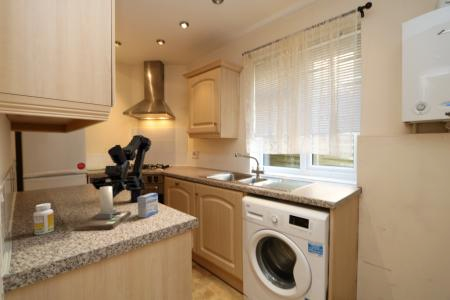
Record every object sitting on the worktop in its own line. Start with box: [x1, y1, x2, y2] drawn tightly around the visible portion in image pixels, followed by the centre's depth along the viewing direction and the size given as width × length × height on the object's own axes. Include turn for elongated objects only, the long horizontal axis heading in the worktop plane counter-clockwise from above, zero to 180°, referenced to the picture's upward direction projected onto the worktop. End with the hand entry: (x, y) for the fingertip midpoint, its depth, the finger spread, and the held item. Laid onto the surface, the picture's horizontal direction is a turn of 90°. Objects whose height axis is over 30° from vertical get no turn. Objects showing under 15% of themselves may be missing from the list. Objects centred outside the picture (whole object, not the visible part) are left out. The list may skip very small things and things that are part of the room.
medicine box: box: [137, 192, 159, 219], centre depth 92 cm, size 8×4×9 cm, turn 161°
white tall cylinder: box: [97, 186, 121, 219], centre depth 85 cm, size 5×8×12 cm, turn 92°
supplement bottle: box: [33, 202, 55, 235], centre depth 76 cm, size 5×5×10 cm
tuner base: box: [75, 210, 132, 231], centre depth 84 cm, size 16×13×2 cm
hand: (109, 199), depth 88 cm, fingers closed, pressing on white tall cylinder
